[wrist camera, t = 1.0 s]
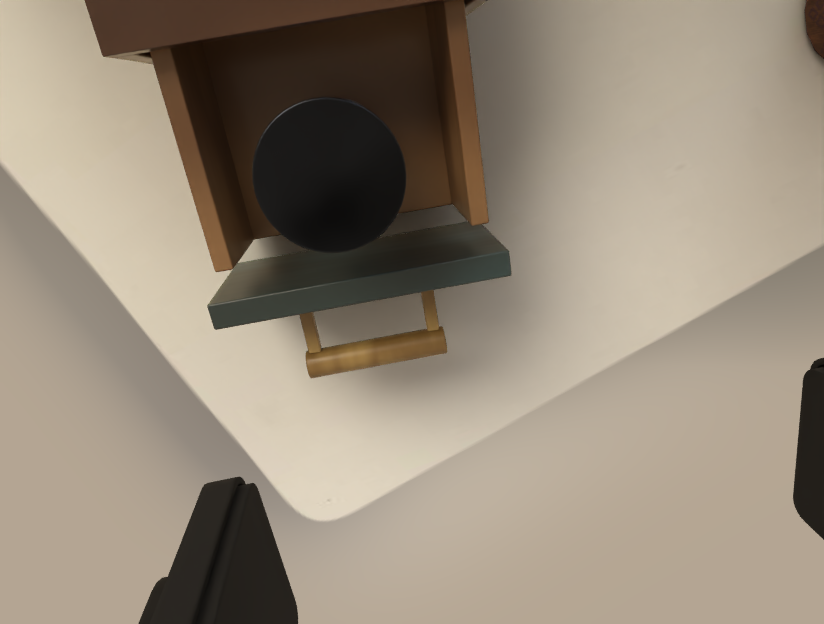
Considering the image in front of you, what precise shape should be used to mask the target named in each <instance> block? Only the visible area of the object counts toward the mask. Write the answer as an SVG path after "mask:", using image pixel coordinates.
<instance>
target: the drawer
mask: <svg viewBox="0 0 824 624" xmlns="http://www.w3.org/2000/svg"><path fill="white" fill-rule="evenodd" d="M150 55H151V58H152V61H153V65H154V68H155V71H156V75H157V78H158V81H159V85H160V88H161V91H162V95H163V98H164V101H165V105H166V108H167V111H168V115H169V118H170V122H171V125H172V128H173V132H174V135H175V138H176V142H177V145H178V148H179V152H180V155H181V158H182V162H183V165H184V168H185V172H186V175H187V179H188V182H189V185H190V189H191V192H192V195H193V199H194V202H195V205H196V209H197V212H198V215H199V219H200V222H201V225H202V229H203V232H204V236H205V239H206V242H207V246H208V249H209V252H210V256H211V259H212V262H213V266H214V269H215V271H216V272H220V271H226V270H231V269H233V268H234V269H233V270H232V271H231V273H230V274H229V276H228V277H227V279H226V280H225V281H224V283H223V284H222V286H221V287H220V288H219V290H218V291H217V293H216V294H215V296H214V297H213V298H212V300H211V301H210V303H209V304H208V310H209V313H210V316H211V320H212V323H213V326H214V329H216V330H217V329H222V328H228V327H233V326H239V325H244V324H250V323H255V322H261V321H266V320H272V319H277V318H282V317H288V316H293V315H300V319H301V323H302V327H303V331H304V335H305V339H306V343H307V347H308V351H306V364H307V369H308V373H309V376H310V377H311V378H316V377H321V376H326V375H332V374H337V373H343V372H348V371H353V370H359V369H364V368H369V367H375V366H380V365H385V364H391V363H396V362H401V361H407V360H412V359H417V358H423V357H428V356H434V355H439V354H444V353H447V345H446V339H445V334H444V330H443V327H442V326H439V323H438V317H437V311H436V304H435V298H434V291H433V290H435V289H441V288H446V287H452V286H457V285H463V284H468V283H473V282H479V281H484V280H490V279H495V278H501V277H506V276H510V275H511V265H510V256H509V251H508V250H507V249H506V248H505V247H504V246H503V245H502V244H501V243H500V242H499V241H498V240H497V239H496V238H495V237H494V236H493V235H492V234H491V233H490V232H489V231H488V230H487V229H486V228H485V227H484V226H483V225H482V224H486V223H488V222H489V218H488V209H487V200H486V191H485V182H484V174H483V165H482V156H481V147H480V138H479V129H478V120H477V112H476V103H475V94H474V85H473V76H472V67H471V58H470V50H469V41H468V32H467V23H466V14H465V5H464V0H454V1H449V2H443V3H437V4H431V5H425V6H419V7H413V8H407V9H401V10H395V11H389V12H383V13H377V14H371V15H365V16H359V17H353V18H347V19H342V20H336V21H330V22H324V23H318V24H312V25H306V26H300V27H294V28H288V29H282V30H276V31H270V32H264V33H258V34H252V35H246V36H240V37H234V38H229V39H223V40H217V41H211V42H205V43H199V44H193V45H187V46H181V47H175V48H169V49H163V50H157V51H151V52H150ZM318 97H336V98H344V99H349V100H352V101H355V102H357V103H359V104H361V105H363V106H364V107H366V108H367V109H369V110H370V111H372V112H373V113H374V114H376V115H377V116H378V117H379V118H380V119H382V121H383V122H384V123H385V124H386V125H387V126H388V127H389V128H390V130H391V131H392V133H393V134H394V136H395V137H396V139H397V141H398V143H399V145H400V148H401V150H402V153H403V156H404V160H405V165H406V175H407V178H406V190H405V196H404V199H403V203H402V206H401V208H400V210H399V212H398V214H400V213H405V212H411V211H416V210H422V209H427V208H433V207H439V206H444V205H450V204H453V205H454V207H455V208H456V209H457V210H458V211H459V212H460V213H461V214H462V215H463V216H464V218H465V219H466V220H467V221H468V222H464V223H458V224H453V225H447V226H442V227H436V228H431V229H425V230H419V231H414V232H408V233H403V234H397V235H392V236H386V237H381V238H376V239H375V240H374V241H372V242H371V243H369V244H367V245H365V246H363V247H360V248H358V249H355V250H352V251H347V252H341V253H323V252H316V251H313V250H308V251H303V252H297V253H292V254H286V255H281V256H275V257H269V258H264V259H258V260H253V261H247V262H242V263H238V261H239V260H240V258H241V257H242V256H243V254H244V253H245V251H246V250H247V249H248V247H249V246H250V244H251V243H252V241H253V240H254V239H260V238H265V237H271V236H277V235H281V234H280V233H279V232H278V231H277V230H276V229H275V228H274V227H273V226H272V225H271V223H270V222H269V221H268V220H267V218H266V217H265V215H264V213H263V212H262V210H261V208H260V206H259V204H258V202H257V199H256V195H255V192H254V187H253V182H252V162H253V157H254V152H255V149H256V146H257V143H258V141H259V139H260V137H261V135H262V133H263V131H264V130H265V129H266V127H267V126H268V124H269V123H270V122H271V121H272V120H273V119H274V118H275V117H276V116H277V115H278V114H280V113H281V112H282V111H283V110H285V109H286V108H288V107H290V106H292V105H293V104H296V103H298V102H301V101H303V100H307V99H311V98H318ZM235 265H236V266H235ZM419 292H421V297H422V303H423V309H424V315H425V321H426V327H427V329H423V330H417V331H412V332H406V333H401V334H396V335H390V336H385V337H379V338H374V339H369V340H363V341H358V342H352V343H347V344H342V345H336V346H331V347H325V348H321V343H320V339H319V334H318V330H317V326H316V322H315V318H314V313H313V312H315V311H321V310H326V309H332V308H337V307H342V306H348V305H353V304H359V303H364V302H370V301H375V300H381V299H386V298H392V297H397V296H402V295H408V294H413V293H419Z"/></svg>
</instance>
